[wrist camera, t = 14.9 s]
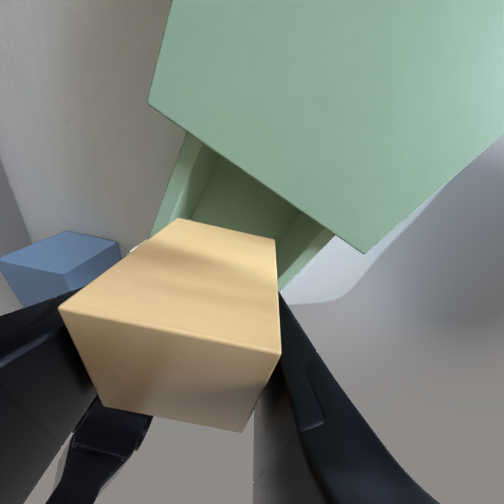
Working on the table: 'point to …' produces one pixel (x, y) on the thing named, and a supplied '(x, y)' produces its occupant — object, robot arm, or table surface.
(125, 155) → the table surface
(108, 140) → the table surface
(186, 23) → the cabinet
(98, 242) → the block
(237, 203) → the drawer
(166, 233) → the block
